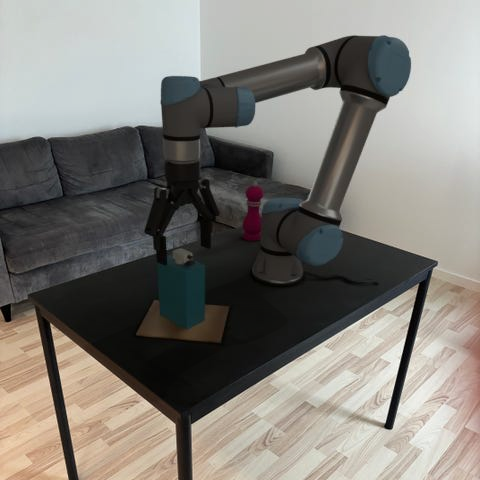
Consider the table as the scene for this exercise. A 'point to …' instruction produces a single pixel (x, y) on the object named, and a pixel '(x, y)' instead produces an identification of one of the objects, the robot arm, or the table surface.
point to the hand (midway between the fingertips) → (184, 255)
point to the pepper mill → (253, 213)
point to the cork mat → (167, 329)
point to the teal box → (182, 289)
